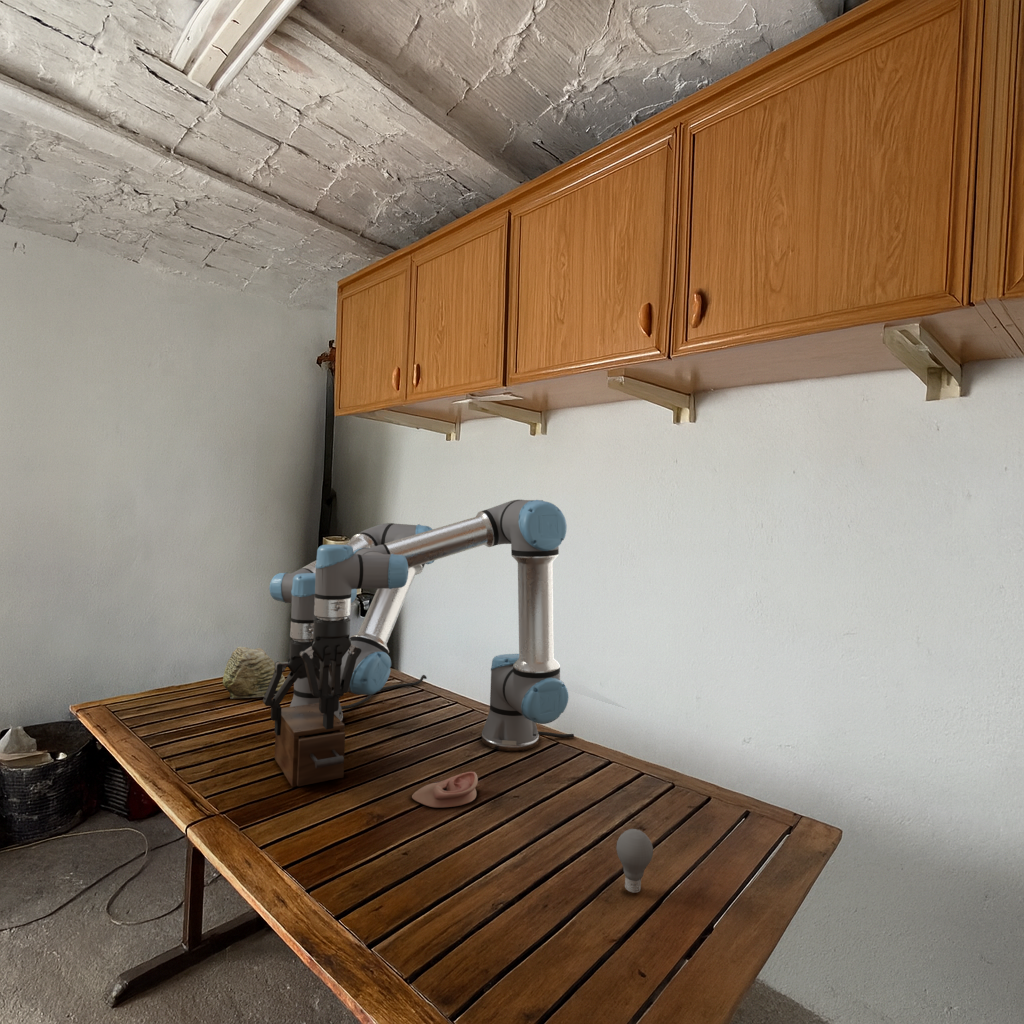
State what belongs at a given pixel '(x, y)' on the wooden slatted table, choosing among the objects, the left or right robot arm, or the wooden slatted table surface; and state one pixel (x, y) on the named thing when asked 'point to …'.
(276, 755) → the cabinet
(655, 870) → the wooden slatted table surface
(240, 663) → the fossil
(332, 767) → the drawer
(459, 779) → the anatomical model
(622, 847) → the light bulb
